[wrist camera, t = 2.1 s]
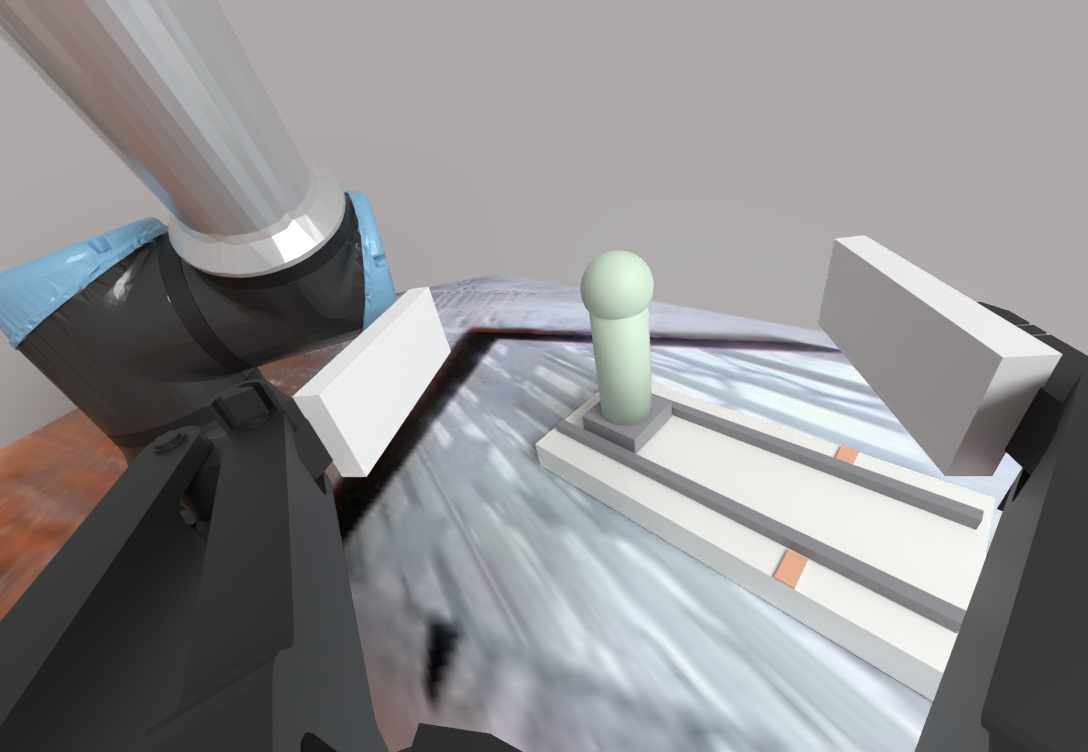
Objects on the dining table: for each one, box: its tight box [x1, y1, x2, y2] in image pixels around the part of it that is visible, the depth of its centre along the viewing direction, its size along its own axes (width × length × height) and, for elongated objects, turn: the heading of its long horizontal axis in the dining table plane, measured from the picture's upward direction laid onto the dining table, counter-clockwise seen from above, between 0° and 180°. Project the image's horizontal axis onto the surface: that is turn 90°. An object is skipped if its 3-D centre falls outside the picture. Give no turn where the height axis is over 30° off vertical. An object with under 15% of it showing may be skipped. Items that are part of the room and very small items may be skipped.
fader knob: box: [581, 250, 672, 454], centre depth 30 cm, size 5×5×14 cm
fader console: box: [535, 383, 995, 701], centre depth 29 cm, size 26×12×3 cm, turn 46°
